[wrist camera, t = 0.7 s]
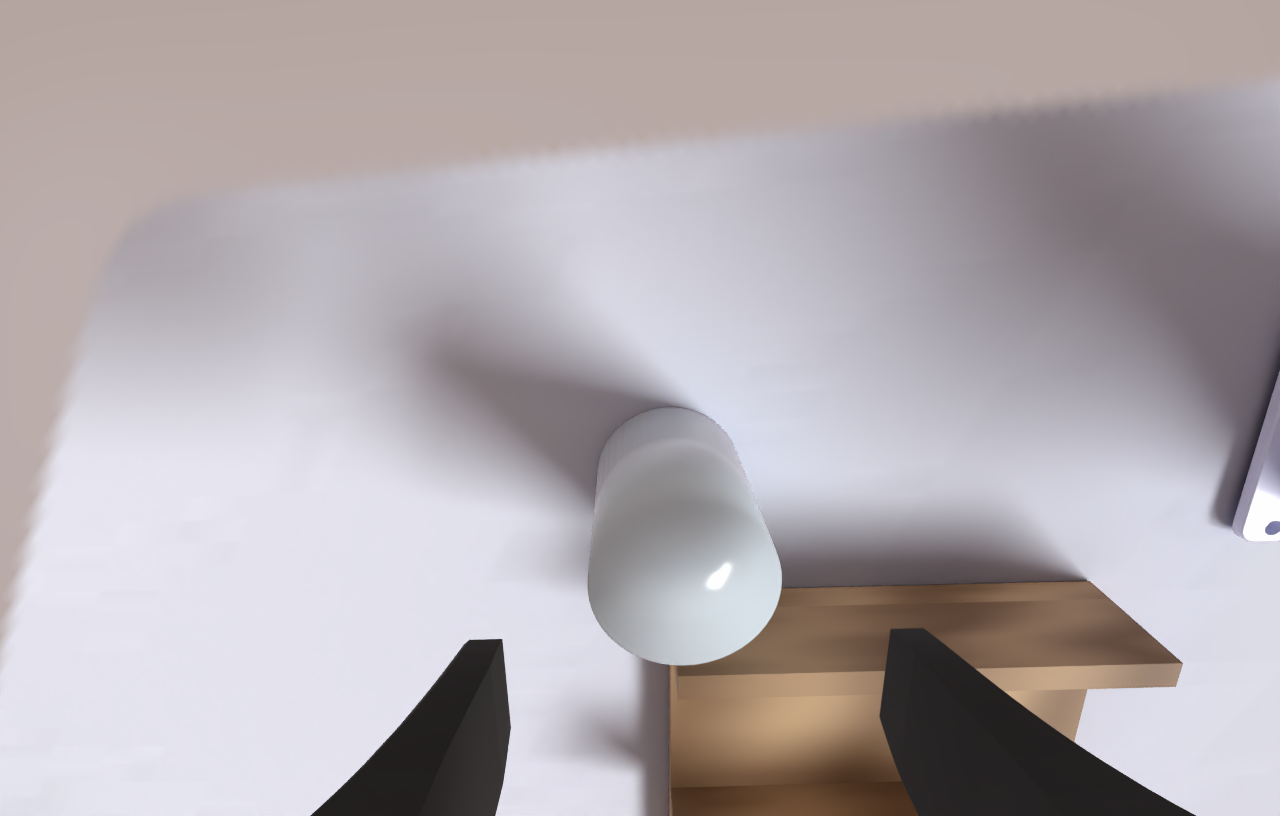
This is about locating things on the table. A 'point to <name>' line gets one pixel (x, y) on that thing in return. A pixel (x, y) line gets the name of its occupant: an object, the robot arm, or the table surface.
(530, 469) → the table surface
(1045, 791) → the robot arm
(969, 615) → the rack
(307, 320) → the table surface
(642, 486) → the cylinder
